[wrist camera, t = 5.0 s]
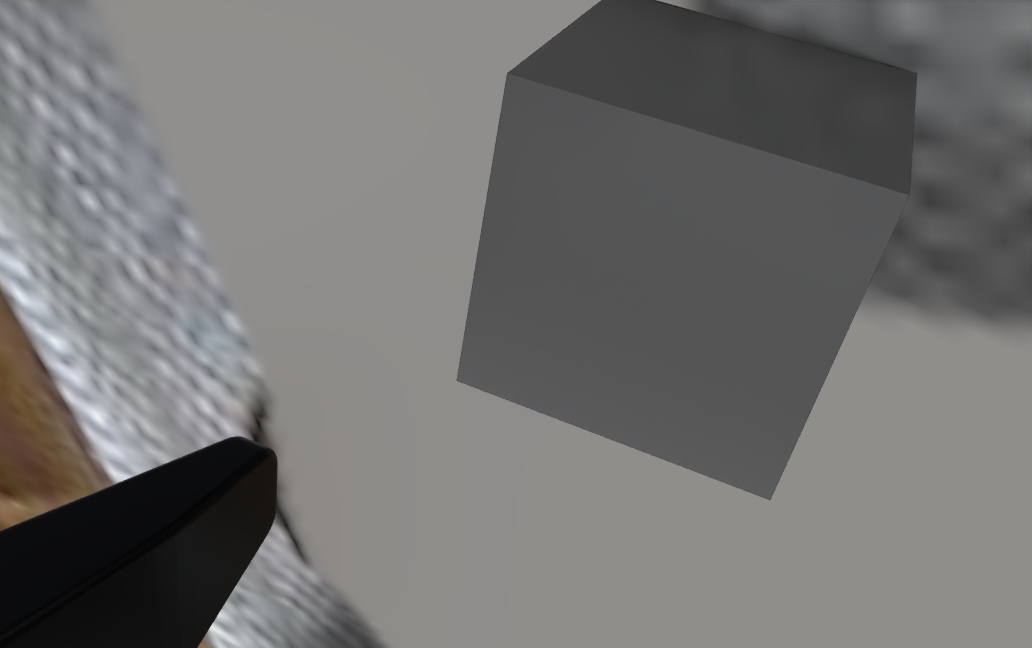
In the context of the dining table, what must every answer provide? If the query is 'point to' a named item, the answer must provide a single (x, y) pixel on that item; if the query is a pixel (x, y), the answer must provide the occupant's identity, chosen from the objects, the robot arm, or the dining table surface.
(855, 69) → the gray cube
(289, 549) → the dining table surface
